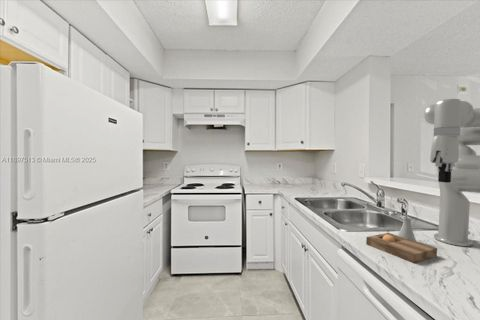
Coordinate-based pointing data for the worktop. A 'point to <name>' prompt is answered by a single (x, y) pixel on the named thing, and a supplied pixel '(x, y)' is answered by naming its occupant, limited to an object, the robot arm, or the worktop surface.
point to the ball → (388, 238)
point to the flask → (407, 229)
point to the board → (402, 247)
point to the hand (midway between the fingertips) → (444, 181)
